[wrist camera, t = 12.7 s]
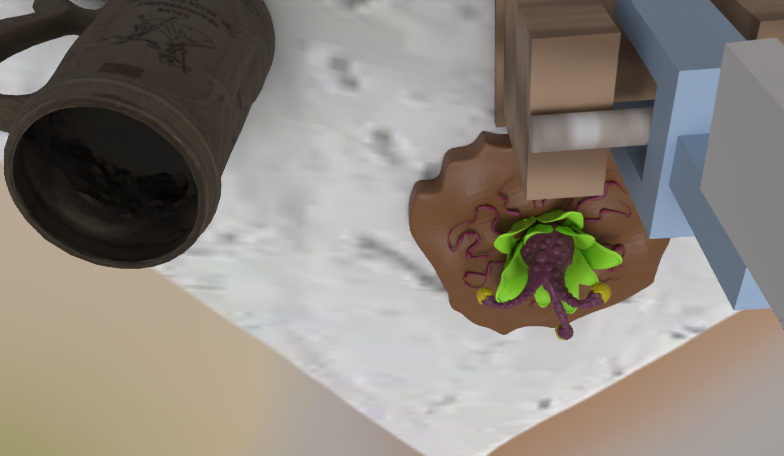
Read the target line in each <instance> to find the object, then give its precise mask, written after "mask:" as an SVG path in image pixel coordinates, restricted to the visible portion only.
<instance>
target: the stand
mask: <svg viewBox="0 0 784 456" xmlns="http://www.w3.org/2000/svg"><path fill="white" fill-rule="evenodd" d="M710 1H711V2H712V3H713V4H714V5H715V6H716V8H717V9H718V10H719V11H720V12H721V13H722V14H723V15H724V16H725V17H726V18H727V20H728V21H729V22H730V23H731V24H732V25H733V26H734V27H735V28H736V29H737V30H738V32H739V33H740V34H741V35H742V36H743V37H744V38H745V39H746V40H747V41H750V40H759V39H768V38H777V39H778V40H779V41H780V42H781V43H782V44H783V45H784V0H710ZM614 8H615V0H495V124H496V127H505V126H507V130H508V134H509V137H510V141H511V145H512V148H513V152H514V156H515V159H516V163H517V167H518V171H519V174H520V178H521V182H522V185H523V189H524V193H525V196H526V200H539V199H554V198H569V197H584V196H599V195H603V191H604V182H605V173H606V164H607V155H608V148H610V147H625V146H639V145H648V140H649V134H650V128H651V121H652V115H653V109H654V107H647V108H633V109H619V110H612V109H613V102H626V101H639V100H653V99H655V97H656V90H657V83H656V82H655V80H654V79H653V77H652V75H651V74H650V72H649V70H648V69H647V67H646V66H645V64H644V62H643V61H642V59H641V58H640V56H639V54H638V53H637V51H636V49H635V48H634V46H633V45H632V43H631V41H630V40H629V38H628V37H627V35H626V33H625V32H624V30H623V29H622V27H621V25H620V24H619V22H618V20H617V19H616V17H615V16H614Z"/></svg>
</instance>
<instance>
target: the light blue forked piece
mask: <svg viewBox="0 0 784 456" xmlns="http://www.w3.org/2000/svg"><path fill="white" fill-rule="evenodd" d="M614 16H615V17H616V19H617V20H618V22H619V24H620V25H621V27H622V29H623V30H624V32H625V33H626V35H627V37H628V38H629V40H630V41H631V43H632V45H633V46H634V48H635V49H636V51H637V53H638V54H639V56H640V58H641V59H642V61H643V62H644V64H645V66H646V67H647V69H648V70H649V72H650V74H651V75H652V77H653V79H654V80H655V82H656V83H657V90H656V97H655V99H653V100H639V101H626V102H613V109H612V110H619V109H633V108H647V107H654V109H653V115H652V121H651V128H650V134H649V140H648V145H639V146H625V147H610V148H609V149H610V151H611V154H612V156H613V158H614V160H615V163H616V165H617V167H618V169H619V172H620V174H621V176H622V178H623V181H624V183H625V185H626V187H627V190H628V192H629V194H630V196H631V199H632V201H633V203H634V205H635V208H636V210H637V212H638V214H639V217H640V219H641V221H642V223H643V226H644V228H645V230H646V232H647V235H648V237H649V239H657V238H673V237H688V236H695V237H696V239H697V241H698V243H699V245H700V247H701V248H702V250H703V252H704V254H705V256H706V258H707V260H708V262H709V264H710V266H711V268H712V269H713V271H714V273H715V275H716V277H717V279H718V281H719V283H720V285H721V287H722V288H723V290H724V292H725V294H726V296H727V298H728V300H729V302H730V304H731V306H732V308H733V309H734V310H749V309H765V308H771V307H770V305H769V304H768V302H767V300H766V299H765V297H764V295H763V294H762V292H761V290H760V288H759V287H758V285H757V283H756V282H755V280H754V278H753V277H752V275H751V273H750V272H749V270H748V268H747V267H746V265H745V263H744V262H743V260H742V258H741V257H740V255H739V253H738V252H737V250H736V248H735V247H734V245H733V243H732V242H731V240H730V238H729V236H728V235H727V233H726V231H725V230H724V228H723V226H722V225H721V223H720V221H719V220H718V218H717V216H716V215H715V213H714V211H713V210H712V208H711V206H710V205H709V203H708V201H707V200H706V198H705V196H704V195H703V193H702V191H701V190H700V186H701V180H702V174H703V169H704V163H705V157H706V151H707V146H708V140H709V134H710V128H711V122H712V117H713V111H714V105H715V99H716V93H717V88H718V82H719V76H720V70H721V64H722V59H723V53H724V47H725V43H732V42H741V41H747V40H746V39H745V38H744V37H743V36H742V35H741V34H740V33H739V32H738V30H737V29H736V28H735V27H734V26H733V25H732V24H731V23H730V22H729V21H728V20H727V18H726V17H725V16H724V15H723V14H722V13H721V12H720V11H719V10H718V9H717V8H716V6H715V5H714V4H713V3H712V2H711V1H710V0H615V8H614Z"/></svg>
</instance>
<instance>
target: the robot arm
mask: <svg viewBox="0 0 784 456" xmlns="http://www.w3.org/2000/svg"><path fill="white" fill-rule="evenodd" d="M700 190H701V191H702V193H703V195H704V196H705V198H706V200H707V201H708V203H709V205H710V206H711V208H712V210H713V211H714V213H715V215H716V216H717V218H718V220H719V221H720V223H721V225H722V226H723V228H724V230H725V231H726V233H727V235H728V236H729V238H730V240H731V242H732V243H733V245H734V247H735V248H736V250H737V252H738V253H739V255H740V257H741V258H742V260H743V262H744V263H745V265H746V267H747V268H748V270H749V272H750V273H751V275H752V277H753V278H754V280H755V282H756V283H757V285H758V287H759V288H760V290H761V292H762V294H763V295H764V297H765V299H766V300H767V302H768V304H769V305H770V307H771V309H772V310H773V312H774V314H775V315H776V317H777V319H778V320H779V322H780V323H781V325H782V327H783V329H784V45H783V44H782V43H781V42H780V41H779V40H778V39H777V38H768V39H759V40H750V41H741V42H732V43H725V47H724V53H723V59H722V64H721V70H720V76H719V82H718V88H717V93H716V99H715V105H714V111H713V117H712V122H711V128H710V134H709V140H708V146H707V151H706V157H705V163H704V169H703V174H702V180H701V186H700Z"/></svg>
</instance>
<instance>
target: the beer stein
mask: <svg viewBox="0 0 784 456" xmlns="http://www.w3.org/2000/svg"><path fill="white" fill-rule="evenodd" d="M33 9H34V11H35V13H31V14H27V15H23V16H17V17H11V18H6V19H2V20H0V63H1V62H2V61H4V60H5V59H7V58H9V57H10V56H12V55H14V54H16V53H19V52H21V51H23V50H26V49H28V48H30V47H32V46H34V45H37V44H40V43H43V42H46V41H49V40H52V39H56V38H59V37H62V36H65V35H78V36H79V38H78V39H77V40H76V41H75V42H74V43H73V45H72V46H71V48H70V49H69V50H68V52H67V53H66V55H65V56H64V58H63V59H62V61H61V63H60V64H59V66H58V68H57V69H56V71H55V73H54V74H53V75H52V77H51V78H50V80H49V81H48V82H47V84H46V85H45V86H43V87H42V88H41V89H40V90H38V91H37V92H34V93H32V94H27V95H3V94H0V131H4V132H8V133H9V136H8V139H7V142H6V145H5V148H4V175H5V180H6V184H7V186H8V190H9V192H10V195H11V197H12V199H13V201H14V203H15V205H16V206H17V208H18V209H19V211H20V212H21V214H22V215H23V216H24V218H25V219H26V220H27V221H28V223H30V225H31V226H32V227H34V229H36V230H37V232H38V233H40V234H41V236H42V237H43V238H44V239H46V240H47V241H49V242H51V243H52V244H54V245H55V246H57V247H59V248H60V249H62V250H63V251H65V252H67V253H68V254H70V255H72V256H75V257H78V258H80V259H83V260H86V261H88V262H91V263H94V264H97V265H101V266H107V267H114V268H121V269H122V268H123V269H139V268H146V267H154V266H157V265H160V264H163V263H166V262H169V261H171V260H172V259H174V258H176V257H178V256H179V255H181V254H183V253H184V252H185V251H186V250H188V249H189V248H190V247H191V246H192V245H193V244H194V243H195V242H196V240H197V239H198V238H199V236H200V235H201V234H202V233H203V232H204V231H205V229H206V228H207V227H208V225H209V224H210V222H211V221H212V219H213V217H214V215H215V213H216V210H217V207H218V203H219V200H220V196H221V176H222V174H223V171H224V169H225V166H226V164H227V161H228V159H229V157H230V154H231V152H232V150H233V148H234V145H235V143H236V141H237V139H238V136H239V134H240V132H241V130H242V127H243V125H244V122H245V120H246V118H247V115H248V113H249V110H250V108H251V105H252V103H253V102H254V101H255V100H256V98H257V97H258V95H259V93H260V91H261V90H262V87H263V84H264V82H265V79H266V76H267V74H268V72H269V70H270V67H271V65H272V60H273V55H274V37H275V36H274V31H273V27H272V23H271V19H270V16H269V13H268V11H267V9H266V7H265V6H264V4H263V2H262V0H109V1H108V2H107V4H106V5H105V6H104V7H102V8H100V9H97V10H90V9H84V8H81V7H79V6H77V5H75V4H74V3H72V2H71V1H69V0H35V1H34V4H33Z"/></svg>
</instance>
